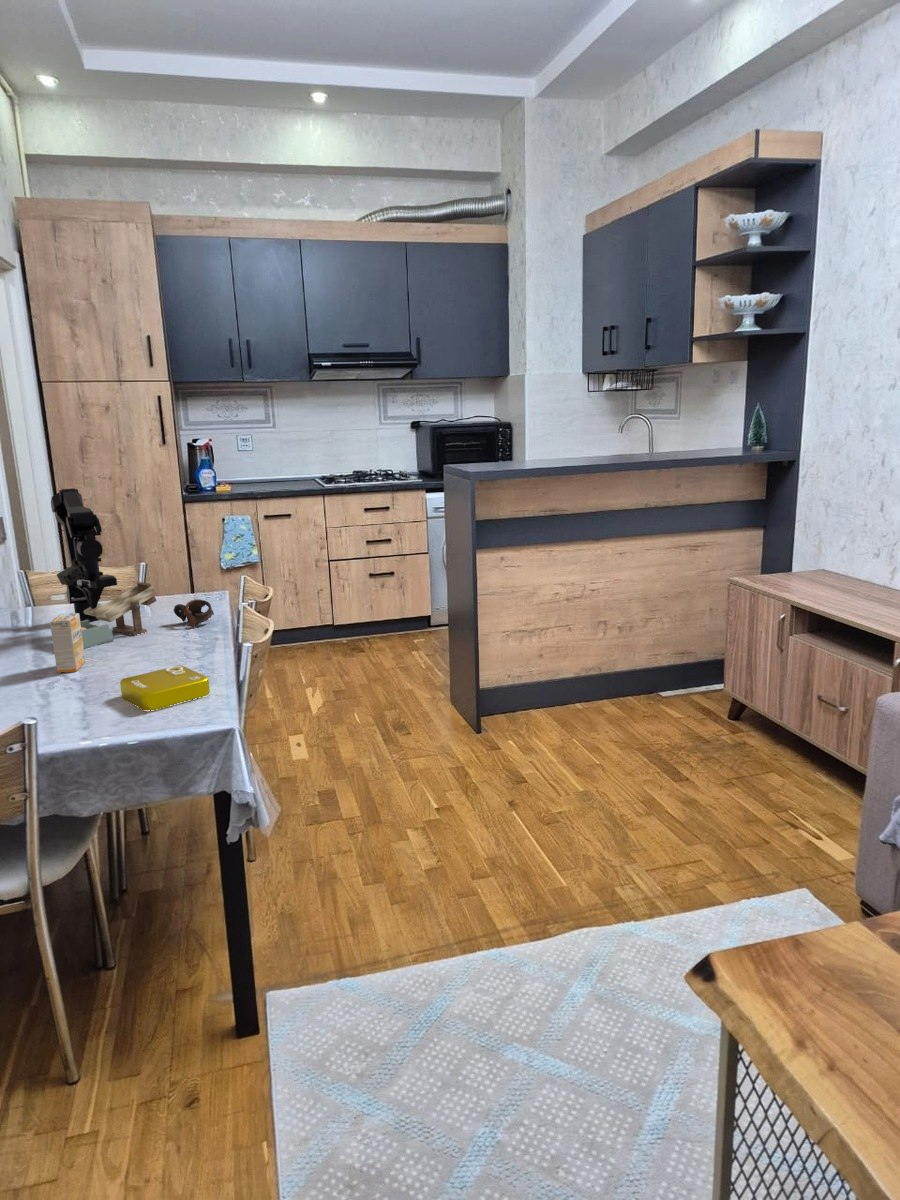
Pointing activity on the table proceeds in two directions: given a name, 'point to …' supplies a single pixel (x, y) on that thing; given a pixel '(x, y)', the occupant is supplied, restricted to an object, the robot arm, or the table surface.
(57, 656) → the supplement box
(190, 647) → the table surface
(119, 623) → the lever stand
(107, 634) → the bin
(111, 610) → the tipping lever
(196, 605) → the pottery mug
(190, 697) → the element tile
